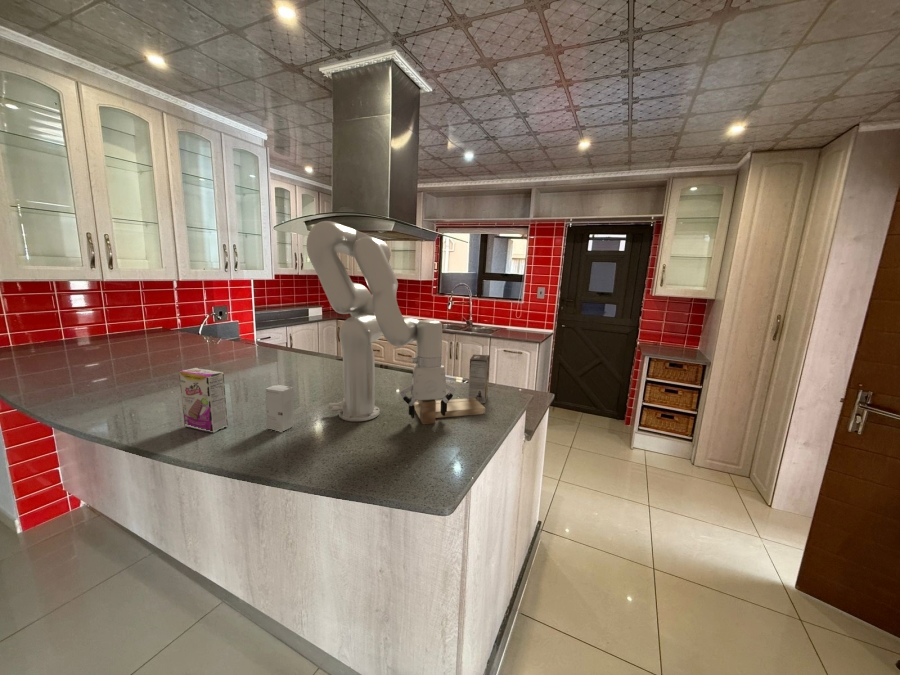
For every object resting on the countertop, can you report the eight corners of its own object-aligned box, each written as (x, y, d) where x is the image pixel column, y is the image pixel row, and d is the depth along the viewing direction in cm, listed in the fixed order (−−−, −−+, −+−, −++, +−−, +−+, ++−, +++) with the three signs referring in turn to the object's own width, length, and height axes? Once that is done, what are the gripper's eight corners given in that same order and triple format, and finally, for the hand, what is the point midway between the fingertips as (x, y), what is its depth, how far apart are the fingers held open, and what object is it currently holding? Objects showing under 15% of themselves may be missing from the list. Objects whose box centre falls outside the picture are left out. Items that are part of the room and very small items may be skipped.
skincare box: (265, 429, 97) (263, 388, 95) (278, 423, 101) (275, 384, 99) (283, 433, 95) (281, 391, 93) (295, 427, 100) (293, 386, 98)
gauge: (422, 424, 104) (422, 400, 103) (414, 409, 116) (415, 388, 115) (435, 423, 105) (435, 399, 104) (426, 409, 117) (426, 387, 116)
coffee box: (471, 394, 133) (473, 353, 131) (487, 396, 132) (490, 355, 130) (467, 402, 124) (469, 359, 122) (485, 404, 123) (487, 360, 121)
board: (419, 419, 108) (419, 412, 108) (413, 407, 117) (413, 402, 117) (485, 413, 114) (485, 407, 114) (474, 403, 124) (474, 397, 123)
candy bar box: (183, 427, 97) (177, 371, 94) (200, 421, 101) (196, 367, 99) (211, 434, 93) (206, 375, 91) (229, 427, 98) (224, 371, 95)
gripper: (402, 365, 97) (401, 422, 100) (460, 363, 102) (458, 417, 105) (398, 359, 104) (397, 413, 107) (452, 357, 109) (451, 409, 112)
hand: (427, 415), depth 106 cm, fingers open, 9 cm apart
